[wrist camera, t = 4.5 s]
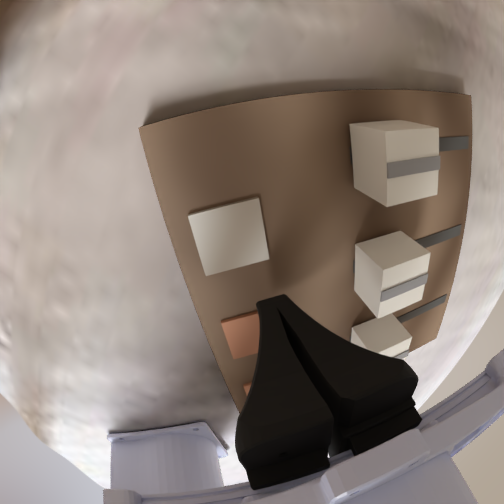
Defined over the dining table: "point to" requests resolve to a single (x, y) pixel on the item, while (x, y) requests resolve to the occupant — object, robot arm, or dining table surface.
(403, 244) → the slider middle
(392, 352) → the slider
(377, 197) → the slider
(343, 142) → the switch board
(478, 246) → the dining table surface
